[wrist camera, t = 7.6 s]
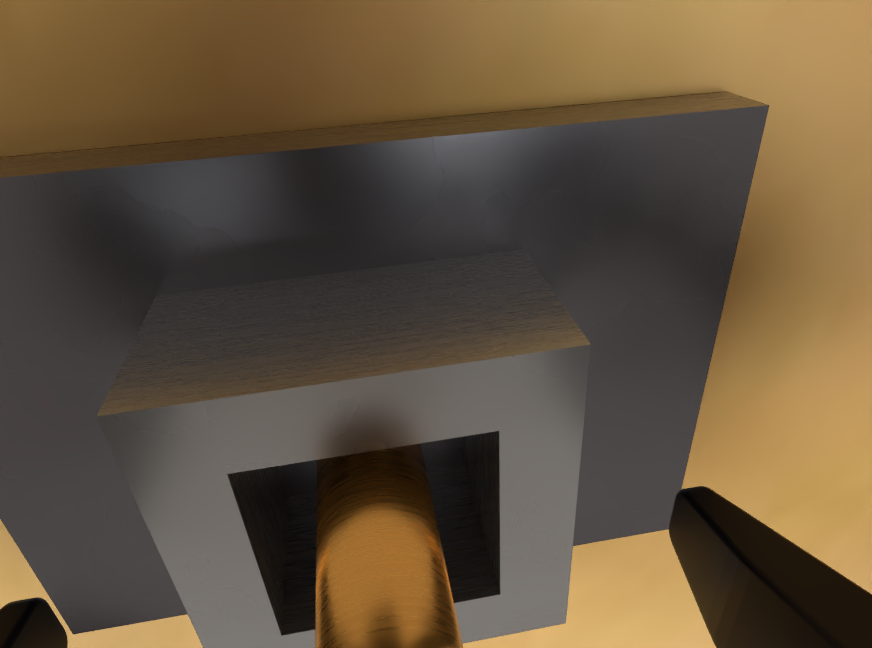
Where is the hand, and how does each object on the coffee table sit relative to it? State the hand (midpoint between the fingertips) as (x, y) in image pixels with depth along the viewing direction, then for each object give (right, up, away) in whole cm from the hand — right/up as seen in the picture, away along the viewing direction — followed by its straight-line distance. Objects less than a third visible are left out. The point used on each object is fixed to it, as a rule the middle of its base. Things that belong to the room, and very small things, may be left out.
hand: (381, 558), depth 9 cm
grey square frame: (0, +2, +3) cm, 3 cm away
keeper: (-1, +2, +4) cm, 4 cm away
